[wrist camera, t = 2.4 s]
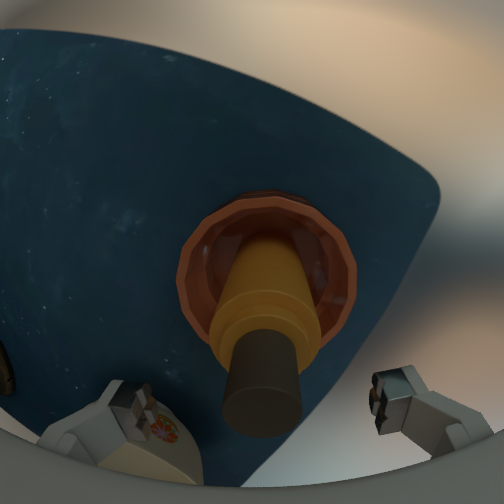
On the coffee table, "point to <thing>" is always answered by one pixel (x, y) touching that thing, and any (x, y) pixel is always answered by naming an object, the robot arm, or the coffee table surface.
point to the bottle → (265, 336)
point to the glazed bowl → (275, 220)
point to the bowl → (160, 453)
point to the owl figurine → (5, 374)
